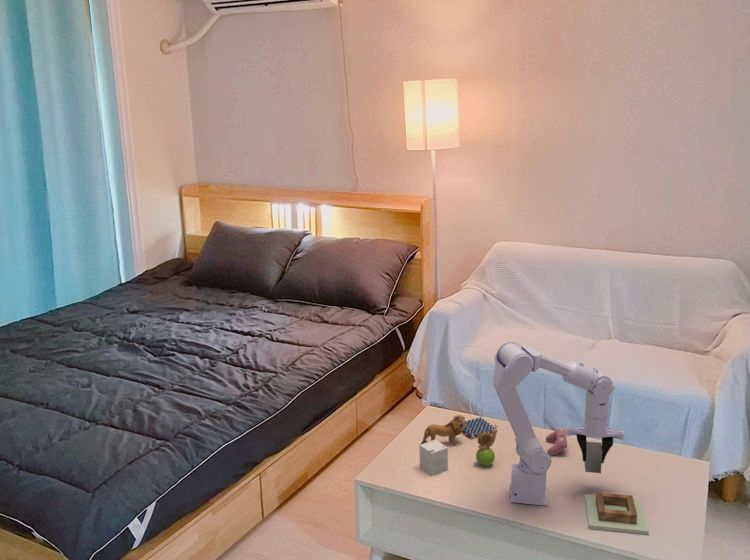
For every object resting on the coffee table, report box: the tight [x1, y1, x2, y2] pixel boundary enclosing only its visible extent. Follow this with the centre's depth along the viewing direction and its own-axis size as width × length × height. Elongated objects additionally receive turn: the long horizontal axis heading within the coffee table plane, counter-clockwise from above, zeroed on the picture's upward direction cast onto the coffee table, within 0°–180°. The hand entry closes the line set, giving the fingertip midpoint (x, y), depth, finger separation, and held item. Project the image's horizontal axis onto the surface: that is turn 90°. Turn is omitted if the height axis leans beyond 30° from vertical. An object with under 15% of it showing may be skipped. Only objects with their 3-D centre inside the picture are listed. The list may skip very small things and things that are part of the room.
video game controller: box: [545, 427, 568, 456], centre depth 214 cm, size 10×5×7 cm, turn 169°
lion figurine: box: [419, 414, 466, 447], centre depth 218 cm, size 15×5×9 cm, turn 103°
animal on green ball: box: [475, 424, 498, 467], centre depth 205 cm, size 5×6×12 cm
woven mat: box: [461, 416, 495, 441], centre depth 228 cm, size 10×11×2 cm
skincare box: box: [419, 439, 449, 476], centre depth 204 cm, size 6×6×7 cm
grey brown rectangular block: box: [583, 441, 603, 474], centre depth 191 cm, size 4×4×7 cm
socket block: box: [584, 491, 649, 536], centre depth 180 cm, size 14×14×4 cm
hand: (593, 460), depth 191 cm, fingers closed on grey brown rectangular block, 4 cm apart
